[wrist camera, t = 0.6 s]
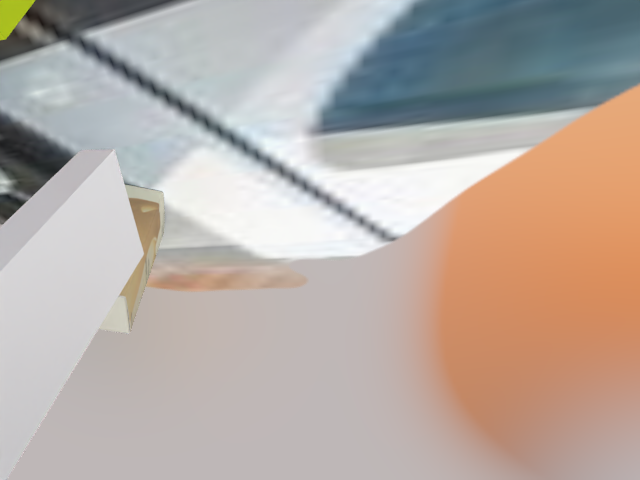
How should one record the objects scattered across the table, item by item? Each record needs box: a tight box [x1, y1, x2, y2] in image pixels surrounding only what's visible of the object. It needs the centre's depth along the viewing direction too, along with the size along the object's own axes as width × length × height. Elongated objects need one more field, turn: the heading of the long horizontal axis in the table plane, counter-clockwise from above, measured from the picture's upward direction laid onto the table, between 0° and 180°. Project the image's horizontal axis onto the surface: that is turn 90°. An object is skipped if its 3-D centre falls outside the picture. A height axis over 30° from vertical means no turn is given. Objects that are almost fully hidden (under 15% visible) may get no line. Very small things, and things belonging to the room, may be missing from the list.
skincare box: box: [99, 185, 165, 334], centre depth 52 cm, size 6×4×12 cm
